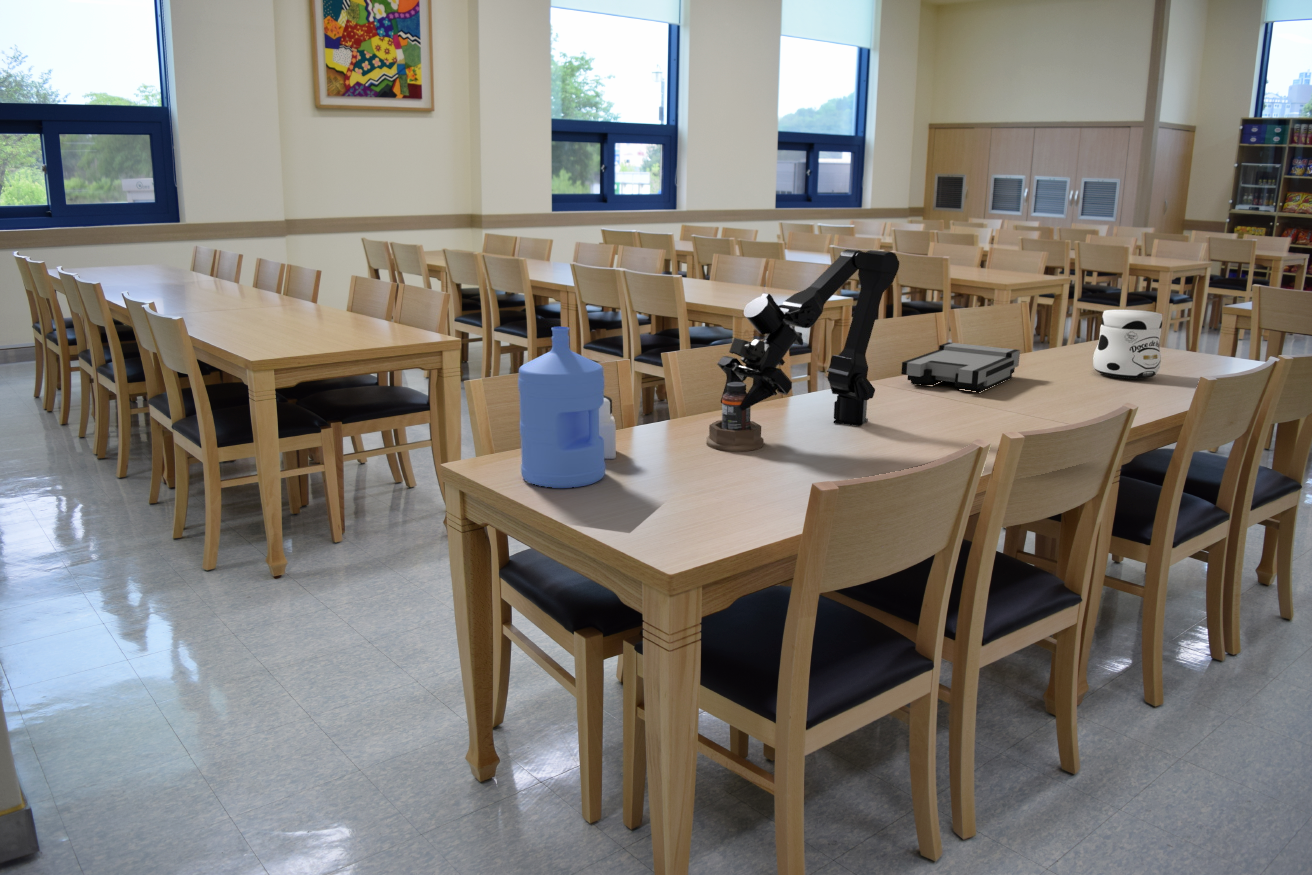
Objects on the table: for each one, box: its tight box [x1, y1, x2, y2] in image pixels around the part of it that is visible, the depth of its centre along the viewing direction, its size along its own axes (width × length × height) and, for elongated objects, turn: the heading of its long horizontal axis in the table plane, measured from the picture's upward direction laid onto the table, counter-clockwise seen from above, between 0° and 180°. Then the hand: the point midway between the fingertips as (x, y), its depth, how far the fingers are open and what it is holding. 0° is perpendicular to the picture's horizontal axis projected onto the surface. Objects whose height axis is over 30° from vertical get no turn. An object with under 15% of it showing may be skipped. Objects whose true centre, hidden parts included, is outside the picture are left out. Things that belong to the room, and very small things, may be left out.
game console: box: [900, 341, 1021, 392], centre depth 266 cm, size 21×32×8 cm, turn 142°
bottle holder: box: [706, 419, 765, 453], centre depth 204 cm, size 12×12×4 cm
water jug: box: [517, 326, 606, 489], centre depth 178 cm, size 16×16×28 cm
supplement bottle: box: [721, 382, 752, 431], centre depth 202 cm, size 6×6×11 cm
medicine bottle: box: [599, 395, 617, 460], centre depth 194 cm, size 7×7×12 cm
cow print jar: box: [1092, 309, 1163, 380], centre depth 274 cm, size 17×17×18 cm
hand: (731, 406), depth 201 cm, fingers closed on supplement bottle, 6 cm apart
